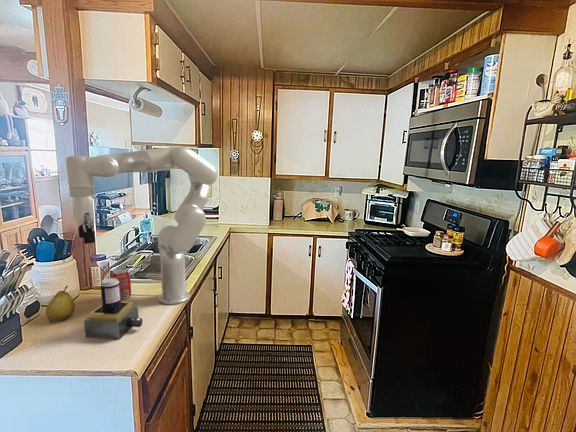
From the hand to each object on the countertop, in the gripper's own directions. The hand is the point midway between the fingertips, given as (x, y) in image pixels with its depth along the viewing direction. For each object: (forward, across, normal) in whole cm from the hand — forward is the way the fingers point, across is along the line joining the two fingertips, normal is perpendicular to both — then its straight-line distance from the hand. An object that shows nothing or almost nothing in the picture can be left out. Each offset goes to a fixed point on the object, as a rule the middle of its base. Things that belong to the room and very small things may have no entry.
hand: (87, 240), depth 115 cm
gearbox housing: (+30, +13, +5) cm, 34 cm away
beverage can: (+24, +12, +4) cm, 27 cm away
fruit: (+31, -8, -9) cm, 33 cm away
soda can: (+31, -13, +13) cm, 35 cm away
